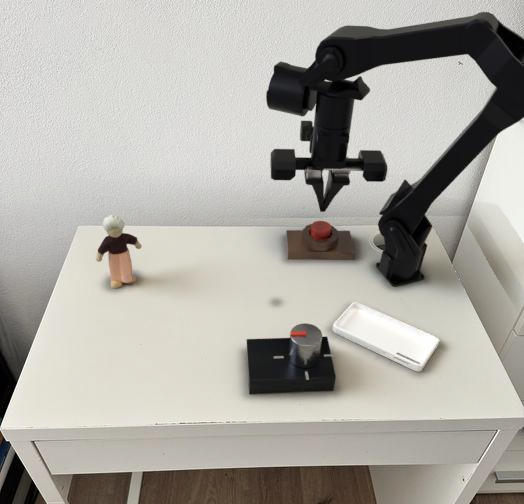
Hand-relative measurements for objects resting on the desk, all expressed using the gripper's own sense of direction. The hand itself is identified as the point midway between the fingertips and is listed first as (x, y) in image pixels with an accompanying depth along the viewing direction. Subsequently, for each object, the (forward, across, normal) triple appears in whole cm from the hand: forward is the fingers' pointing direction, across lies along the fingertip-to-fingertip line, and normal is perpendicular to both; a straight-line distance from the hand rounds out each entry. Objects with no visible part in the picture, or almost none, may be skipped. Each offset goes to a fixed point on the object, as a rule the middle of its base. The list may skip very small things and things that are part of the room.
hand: (322, 210), depth 94 cm
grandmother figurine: (+8, +34, +10) cm, 36 cm away
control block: (+8, 0, 0) cm, 8 cm away
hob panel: (+8, +7, +31) cm, 32 cm away
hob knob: (+5, +5, +31) cm, 31 cm away
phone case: (+8, -8, +24) cm, 26 cm away
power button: (+5, 0, 0) cm, 5 cm away
